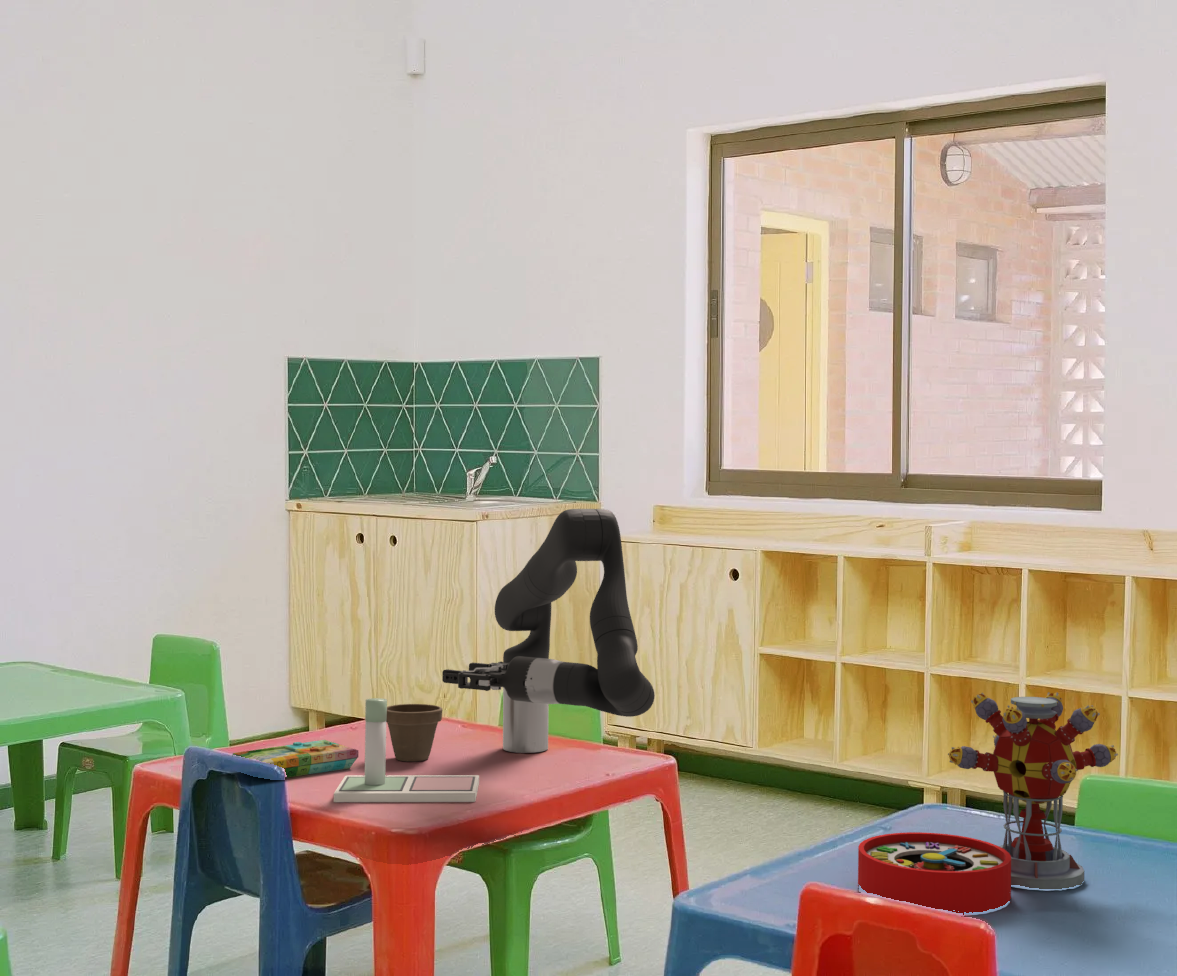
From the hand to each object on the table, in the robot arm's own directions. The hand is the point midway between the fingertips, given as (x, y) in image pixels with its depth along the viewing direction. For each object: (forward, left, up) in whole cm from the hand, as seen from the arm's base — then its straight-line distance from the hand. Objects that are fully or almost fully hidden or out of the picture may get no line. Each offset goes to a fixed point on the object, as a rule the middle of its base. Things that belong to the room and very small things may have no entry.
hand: (456, 672), depth 242 cm
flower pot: (-31, -11, -22) cm, 40 cm away
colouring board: (-2, -9, -22) cm, 23 cm away
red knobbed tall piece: (+50, +83, -22) cm, 99 cm away
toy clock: (+57, +68, -22) cm, 91 cm away
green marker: (-3, -14, -20) cm, 25 cm away
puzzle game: (-21, -31, -22) cm, 44 cm away
